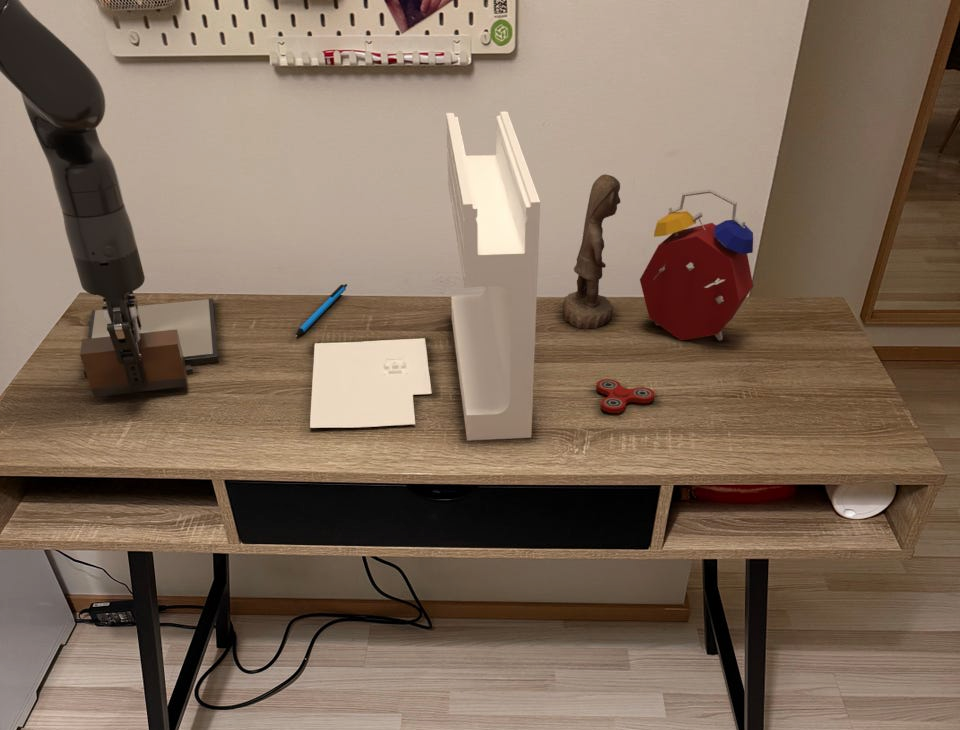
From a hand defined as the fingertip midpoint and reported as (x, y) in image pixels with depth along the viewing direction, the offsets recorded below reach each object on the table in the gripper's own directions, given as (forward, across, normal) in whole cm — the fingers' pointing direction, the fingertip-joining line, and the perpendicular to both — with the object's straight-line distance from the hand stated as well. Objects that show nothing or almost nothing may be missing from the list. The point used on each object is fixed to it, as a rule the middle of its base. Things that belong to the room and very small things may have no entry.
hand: (139, 377), depth 124 cm
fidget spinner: (+2, +17, +61) cm, 64 cm away
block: (+2, +6, +46) cm, 47 cm away
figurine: (+2, -8, +65) cm, 66 cm away
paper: (+2, +5, +30) cm, 31 cm away
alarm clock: (+2, +2, +77) cm, 77 cm away
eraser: (+1, 0, 0) cm, 1 cm away
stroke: (+1, -4, +5) cm, 6 cm away
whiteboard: (+2, -16, +1) cm, 16 cm away
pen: (+2, -19, +26) cm, 33 cm away
